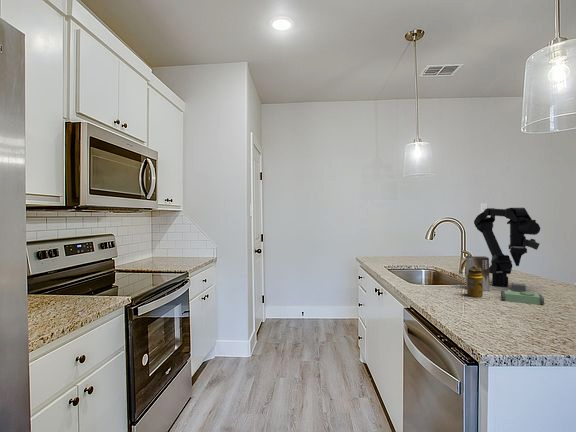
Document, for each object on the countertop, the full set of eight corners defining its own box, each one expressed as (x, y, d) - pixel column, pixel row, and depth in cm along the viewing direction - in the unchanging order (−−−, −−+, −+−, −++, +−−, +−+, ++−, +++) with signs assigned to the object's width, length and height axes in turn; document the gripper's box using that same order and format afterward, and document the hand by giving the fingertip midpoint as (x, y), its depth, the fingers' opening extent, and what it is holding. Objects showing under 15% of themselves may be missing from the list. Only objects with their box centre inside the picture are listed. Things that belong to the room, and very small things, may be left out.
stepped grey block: (512, 294, 152) (512, 284, 152) (511, 291, 157) (511, 282, 157) (525, 295, 149) (525, 285, 149) (524, 293, 155) (524, 283, 155)
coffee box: (486, 288, 164) (485, 256, 164) (489, 291, 158) (489, 257, 158) (465, 287, 167) (465, 255, 167) (468, 290, 161) (468, 257, 161)
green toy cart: (501, 300, 140) (501, 292, 140) (500, 294, 151) (500, 286, 151) (544, 305, 133) (543, 296, 133) (539, 298, 144) (539, 290, 144)
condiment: (487, 298, 146) (487, 271, 146) (469, 298, 144) (469, 271, 144) (475, 294, 153) (475, 268, 153) (459, 294, 152) (458, 268, 152)
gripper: (540, 235, 146) (541, 270, 146) (535, 232, 162) (535, 264, 162) (510, 234, 152) (510, 268, 152) (508, 232, 168) (508, 263, 168)
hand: (517, 266), depth 158 cm, fingers closed
